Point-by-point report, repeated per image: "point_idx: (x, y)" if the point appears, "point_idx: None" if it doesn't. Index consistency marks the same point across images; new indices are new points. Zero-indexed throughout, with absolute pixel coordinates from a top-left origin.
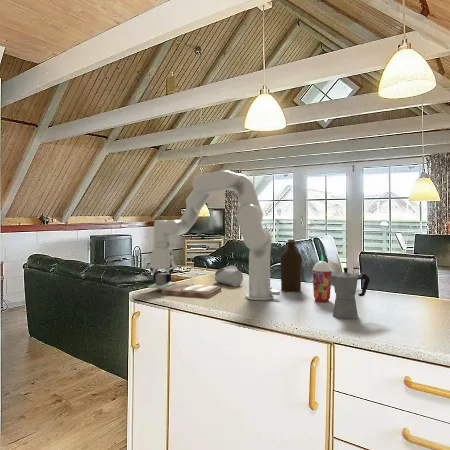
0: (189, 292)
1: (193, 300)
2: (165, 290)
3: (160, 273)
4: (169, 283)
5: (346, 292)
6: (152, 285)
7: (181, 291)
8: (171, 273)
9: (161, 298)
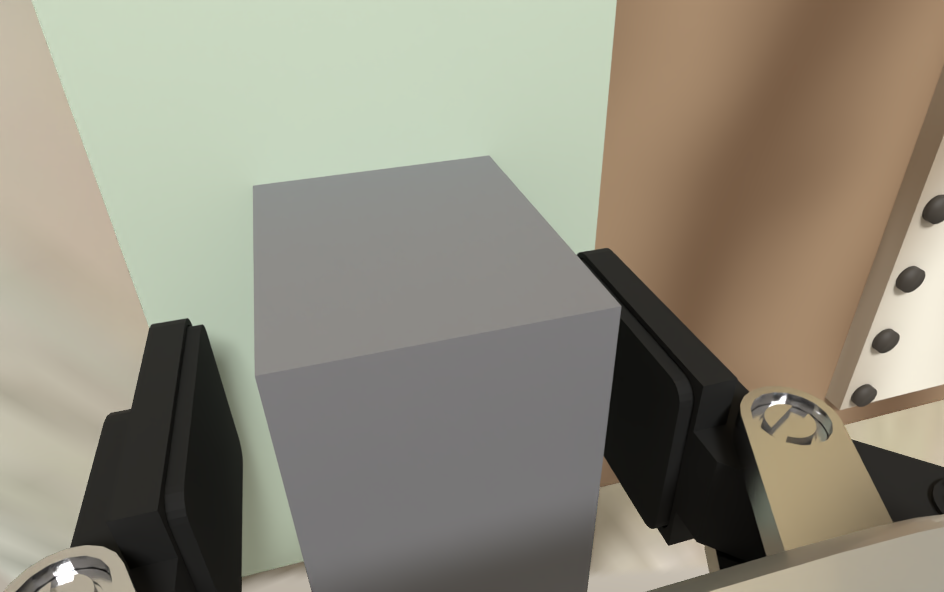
0: (939, 394)
1: (937, 459)
2: (610, 481)
3: (326, 488)
4: (522, 169)
5: None
6: (289, 510)
7: (844, 423)
8: (794, 412)
9: (616, 565)
